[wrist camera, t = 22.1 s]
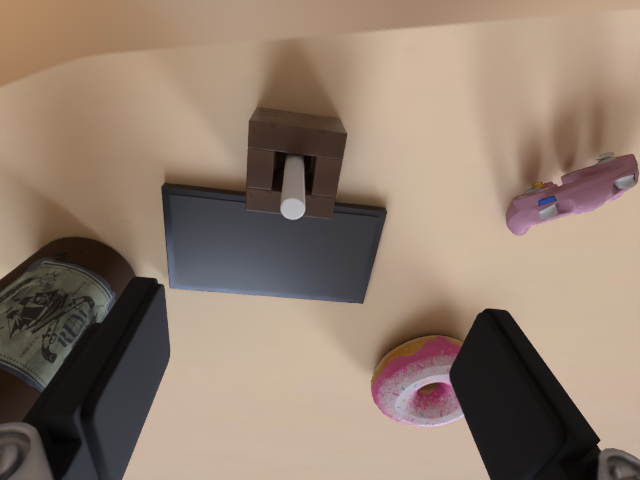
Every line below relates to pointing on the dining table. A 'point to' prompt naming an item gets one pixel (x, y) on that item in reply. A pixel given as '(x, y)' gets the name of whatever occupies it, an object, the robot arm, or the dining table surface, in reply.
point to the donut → (418, 382)
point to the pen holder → (299, 138)
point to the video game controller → (573, 192)
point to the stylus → (293, 187)
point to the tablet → (267, 247)
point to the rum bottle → (52, 314)
